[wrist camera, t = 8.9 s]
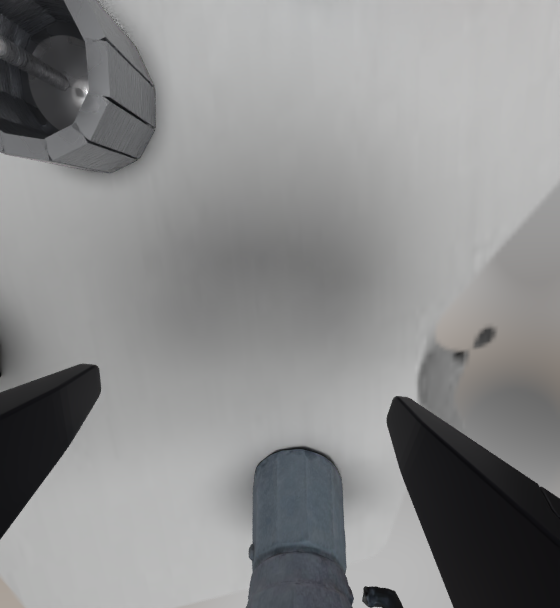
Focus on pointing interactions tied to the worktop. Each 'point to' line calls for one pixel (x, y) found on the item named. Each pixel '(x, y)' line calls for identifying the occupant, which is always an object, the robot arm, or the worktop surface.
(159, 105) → the worktop surface
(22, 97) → the press carafe
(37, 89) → the plunger
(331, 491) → the moka pot
